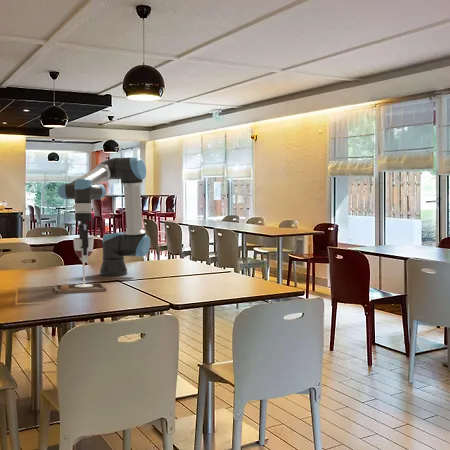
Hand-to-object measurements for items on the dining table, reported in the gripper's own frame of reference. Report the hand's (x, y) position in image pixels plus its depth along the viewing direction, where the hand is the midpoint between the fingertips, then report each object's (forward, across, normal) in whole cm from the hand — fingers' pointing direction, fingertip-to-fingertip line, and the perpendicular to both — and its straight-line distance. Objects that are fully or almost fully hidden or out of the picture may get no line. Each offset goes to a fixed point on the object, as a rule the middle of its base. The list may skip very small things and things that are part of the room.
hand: (83, 261), depth 266 cm
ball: (+13, +5, -9) cm, 17 cm away
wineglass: (+12, 0, 0) cm, 12 cm away
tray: (+14, +1, -2) cm, 14 cm away
